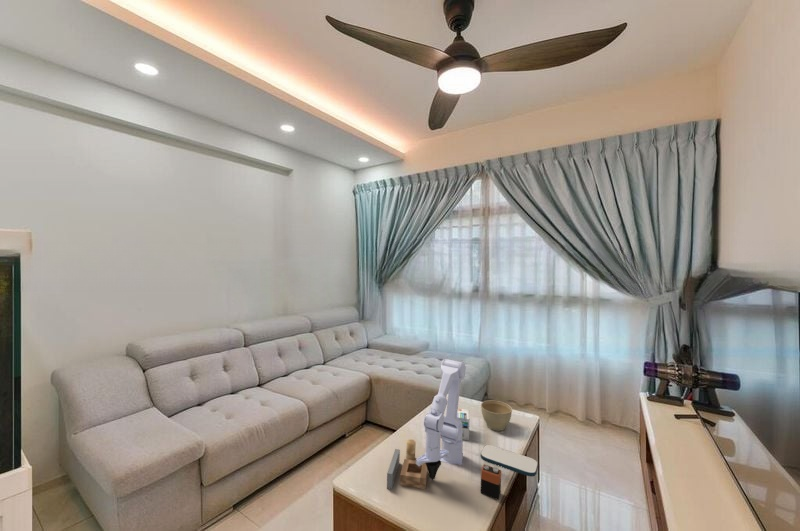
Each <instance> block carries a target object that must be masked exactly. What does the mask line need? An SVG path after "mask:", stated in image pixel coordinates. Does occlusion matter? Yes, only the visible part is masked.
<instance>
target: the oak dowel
mask: <svg viewBox="0 0 800 531" xmlns="http://www.w3.org/2000/svg"><path fill="white" fill-rule="evenodd" d="M405 447H406V451H405V452H406V453H405V459H408V460H415V461H416V440H414V439H408V440H406V446H405Z"/></svg>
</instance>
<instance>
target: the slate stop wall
mask: <svg viewBox="0 0 800 531" xmlns="http://www.w3.org/2000/svg"><path fill="white" fill-rule="evenodd" d="M400 453H401V449H399V448H398V449H397V448H395V449H394V451H393V454H392V457H391V461H390V464H389V466H388V470H387V472H386V490H387V489H388V490H393V486H394V482H395V480H396V478H397V477H396V476H397V473H398V469H399V466H400V458H401V456H400V455H401V454H400Z"/></svg>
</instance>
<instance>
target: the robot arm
mask: <svg viewBox="0 0 800 531" xmlns="http://www.w3.org/2000/svg"><path fill="white" fill-rule="evenodd" d="M440 372H441V380H440V384H439V388H438V393H437V394H436V395H434V397H433V399H432V402H431V406H430V408H429V412H427V413H426V415H425V416H424V421H423V426H424V431H425V452H424V453H423V454H422V455H421V456H419V457H417V458H415V461H416V464H417V465H418V466H421V464H424V463H425V464H426V466H427V469H428V476H429V479H430V480H432V481H433V480H435V479H436V476H437V472H438V470H439V468H440V467H441V466H442V463H446V464H454V465H460V466H461V465H463V458H464V452H463V450H464V449H463V446H464V445H463V444H464V443H463V442H464V441H463V439H461V438H462V434H463V429H462V422H461V421H460V420H459V419H458V417H457V411H458V409H459V402H460V401H459V399H460V391H461V390H460V389H461V381H463V380H465V377H466V376H465V375H466V364H465V362H463V361H458V360H452V359H448V358H443V359H442V361H441V363H440ZM445 412H446V413H445Z"/></svg>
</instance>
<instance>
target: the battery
mask: <svg viewBox="0 0 800 531" xmlns="http://www.w3.org/2000/svg"><path fill="white" fill-rule="evenodd" d="M501 489H502V470H501V469H499V468H498V467H496V466H495V467H493V466H490V465H488V464H483V466H482V468H481V473H480V493H481V494H482V495H485V496H487V497H490V498H492V499H495V500H499V499H500V496H501V493H502V492H501V491H502V490H501Z"/></svg>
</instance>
